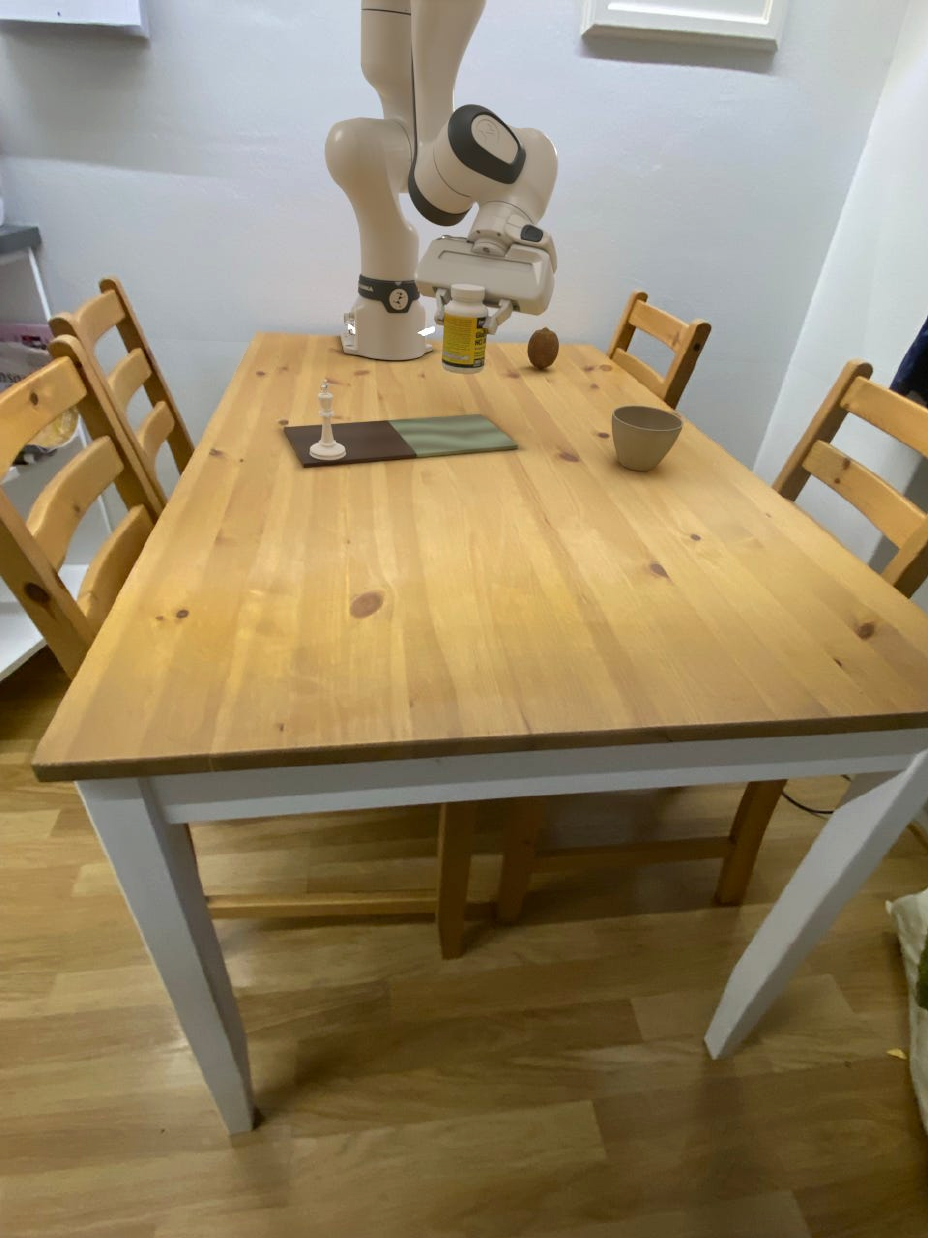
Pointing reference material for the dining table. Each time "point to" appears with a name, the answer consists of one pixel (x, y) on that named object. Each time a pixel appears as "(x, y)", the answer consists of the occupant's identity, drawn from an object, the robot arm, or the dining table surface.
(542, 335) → the fruit
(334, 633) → the dining table surface
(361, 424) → the mat
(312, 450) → the chess piece
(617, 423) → the flower pot
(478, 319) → the pill bottle
